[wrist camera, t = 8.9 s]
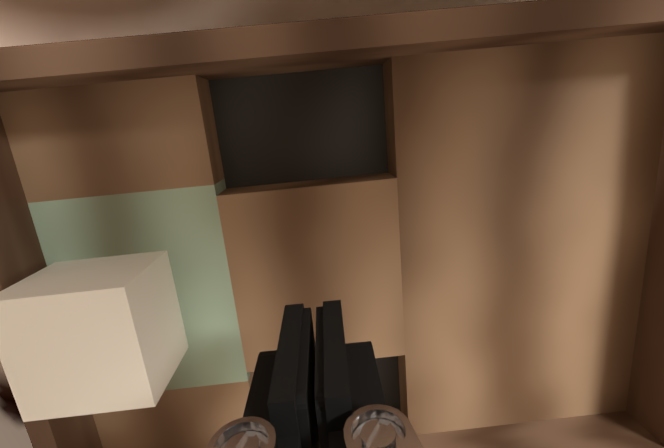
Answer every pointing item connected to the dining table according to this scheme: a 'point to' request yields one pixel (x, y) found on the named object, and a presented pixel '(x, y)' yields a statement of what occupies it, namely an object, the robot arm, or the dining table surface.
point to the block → (91, 336)
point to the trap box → (369, 209)
